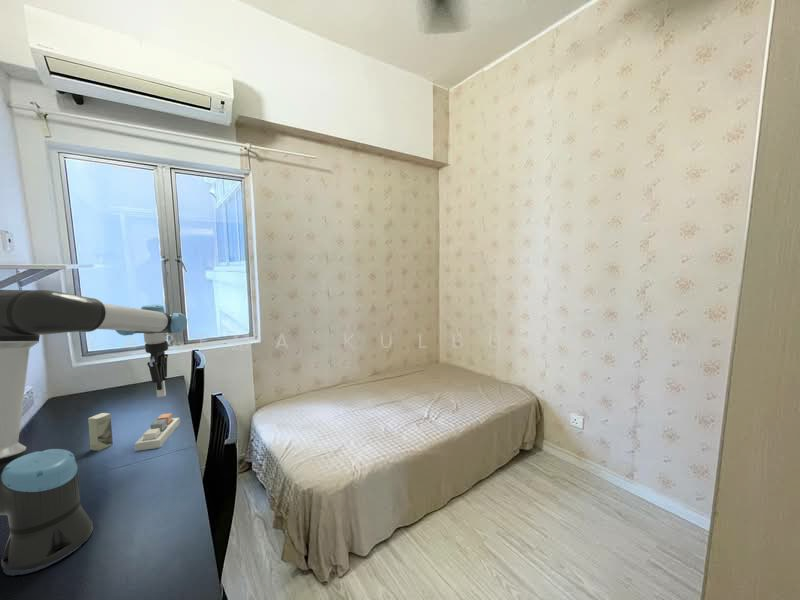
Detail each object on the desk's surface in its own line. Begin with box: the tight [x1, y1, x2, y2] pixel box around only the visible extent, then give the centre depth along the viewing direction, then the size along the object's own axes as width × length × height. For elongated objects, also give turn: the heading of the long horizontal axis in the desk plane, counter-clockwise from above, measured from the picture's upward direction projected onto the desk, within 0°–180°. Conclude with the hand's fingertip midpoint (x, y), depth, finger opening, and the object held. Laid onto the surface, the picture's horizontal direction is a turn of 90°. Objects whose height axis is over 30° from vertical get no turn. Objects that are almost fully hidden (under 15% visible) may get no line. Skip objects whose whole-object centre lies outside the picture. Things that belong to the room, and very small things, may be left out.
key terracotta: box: [156, 412, 173, 425], centre depth 137 cm, size 4×4×3 cm
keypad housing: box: [134, 417, 181, 452], centre depth 132 cm, size 20×8×3 cm, turn 16°
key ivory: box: [142, 428, 160, 441], centre depth 126 cm, size 4×4×3 cm
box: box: [87, 412, 114, 452], centre depth 123 cm, size 5×4×13 cm
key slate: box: [150, 419, 167, 431], centre depth 131 cm, size 4×4×3 cm
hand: (161, 396), depth 134 cm, fingers closed
